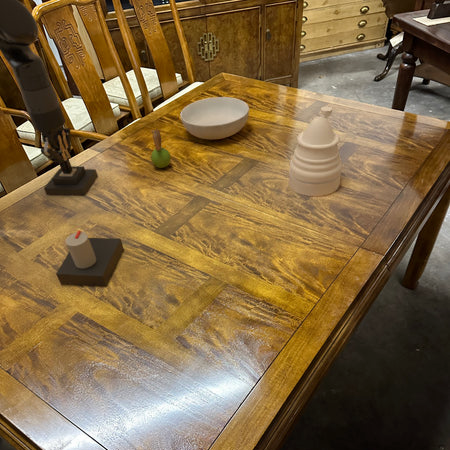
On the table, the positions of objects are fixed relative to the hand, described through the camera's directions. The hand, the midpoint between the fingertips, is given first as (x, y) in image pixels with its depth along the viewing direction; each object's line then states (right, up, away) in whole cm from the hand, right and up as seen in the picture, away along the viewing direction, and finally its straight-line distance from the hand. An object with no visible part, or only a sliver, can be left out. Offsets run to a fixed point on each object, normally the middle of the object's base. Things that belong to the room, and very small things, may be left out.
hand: (68, 172), depth 112 cm
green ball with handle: (+24, +3, +7) cm, 25 cm away
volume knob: (+13, -26, -25) cm, 38 cm away
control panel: (+13, -27, -21) cm, 37 cm away
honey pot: (+65, -4, -4) cm, 65 cm away
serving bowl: (+39, +18, +20) cm, 48 cm away
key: (0, -1, +1) cm, 2 cm away
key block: (0, -3, +3) cm, 4 cm away
